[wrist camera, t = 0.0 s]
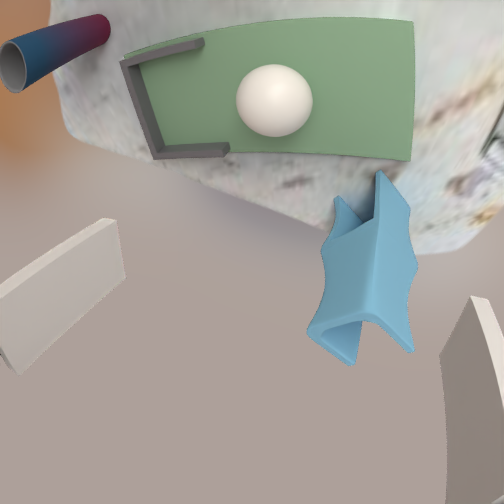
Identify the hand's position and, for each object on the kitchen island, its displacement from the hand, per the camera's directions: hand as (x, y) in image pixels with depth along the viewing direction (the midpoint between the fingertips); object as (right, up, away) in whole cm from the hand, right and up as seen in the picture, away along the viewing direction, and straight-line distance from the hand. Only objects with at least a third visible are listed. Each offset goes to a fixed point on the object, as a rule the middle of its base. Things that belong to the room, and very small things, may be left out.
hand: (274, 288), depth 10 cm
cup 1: (-22, +32, +20) cm, 44 cm away
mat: (0, +20, +22) cm, 30 cm away
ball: (+1, +16, +18) cm, 24 cm away
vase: (+15, +7, +28) cm, 33 cm away
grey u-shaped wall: (-9, +20, +25) cm, 33 cm away
